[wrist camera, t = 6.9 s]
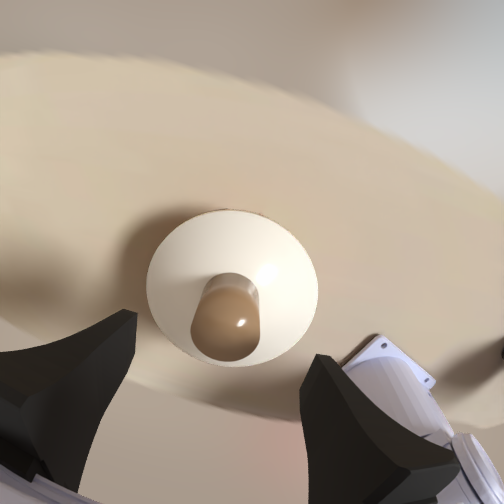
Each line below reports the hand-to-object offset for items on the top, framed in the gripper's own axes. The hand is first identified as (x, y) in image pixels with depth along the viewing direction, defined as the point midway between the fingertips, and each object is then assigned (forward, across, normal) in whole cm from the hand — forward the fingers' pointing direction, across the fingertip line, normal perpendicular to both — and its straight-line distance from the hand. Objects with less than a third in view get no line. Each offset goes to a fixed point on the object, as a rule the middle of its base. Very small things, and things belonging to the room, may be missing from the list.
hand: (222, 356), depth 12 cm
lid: (+6, 0, 0) cm, 6 cm away
